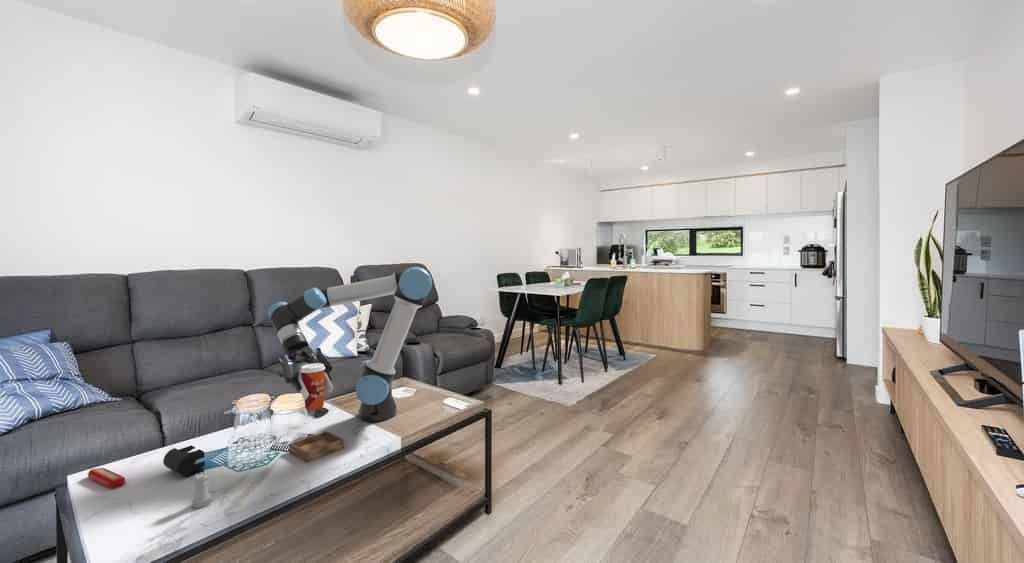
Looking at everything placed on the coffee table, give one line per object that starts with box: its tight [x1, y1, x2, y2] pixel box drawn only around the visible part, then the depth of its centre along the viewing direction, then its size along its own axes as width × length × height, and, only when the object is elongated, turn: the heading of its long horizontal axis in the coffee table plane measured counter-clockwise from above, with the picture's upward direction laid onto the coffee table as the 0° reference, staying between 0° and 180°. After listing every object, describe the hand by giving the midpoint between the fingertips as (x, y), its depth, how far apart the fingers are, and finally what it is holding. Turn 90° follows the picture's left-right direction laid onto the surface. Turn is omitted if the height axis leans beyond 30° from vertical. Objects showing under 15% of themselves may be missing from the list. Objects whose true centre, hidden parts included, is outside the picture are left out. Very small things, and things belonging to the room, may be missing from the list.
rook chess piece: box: [190, 472, 213, 509], centre depth 110 cm, size 4×4×8 cm
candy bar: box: [87, 467, 126, 488], centre depth 122 cm, size 16×4×3 cm, turn 64°
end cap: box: [162, 445, 206, 478], centre depth 126 cm, size 10×7×7 cm
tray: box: [288, 430, 345, 464], centre depth 140 cm, size 13×12×3 cm
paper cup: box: [299, 363, 325, 410], centre depth 139 cm, size 8×8×14 cm
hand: (319, 393), depth 137 cm, fingers closed on paper cup, 8 cm apart
